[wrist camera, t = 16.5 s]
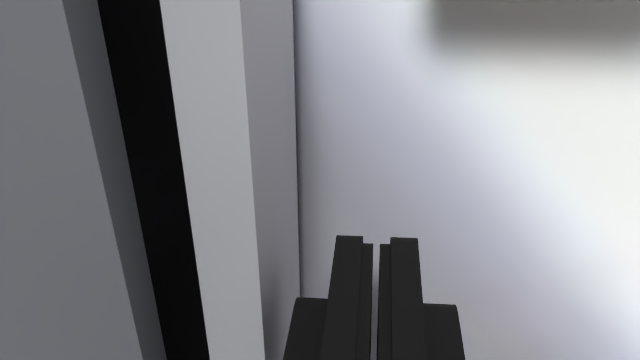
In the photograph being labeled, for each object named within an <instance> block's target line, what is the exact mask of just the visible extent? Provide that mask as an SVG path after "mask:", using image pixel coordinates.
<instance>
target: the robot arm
mask: <svg viewBox="0 0 640 360" xmlns="http://www.w3.org/2000/svg"><path fill="white" fill-rule="evenodd" d="M372 271H373V244H367V243H363V236H341V235H337V236H336V243H335V250H334V258H333V265H332V273H331V280H330V288H329V295H328V299H320V298H300V297H297V298H296V300H295V304H294V308H293V313H292V318H291V322H290V327H289V332H288V337H287V342H286V346H285V351H284V356H283V360H370V353H371V313H372ZM377 360H465V355H464V349H463V342H462V336H461V330H460V323H459V317H458V311H457V307H456V305H447V304H426V303H423V298H422V286H421V274H420V261H419V249H418V239H417V238H397V237H391V240H390V244H380V263H379V296H378V329H377Z"/></svg>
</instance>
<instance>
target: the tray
mask: <svg viewBox="0 0 640 360" xmlns="http://www.w3.org/2000/svg"><path fill="white" fill-rule="evenodd" d="M97 3H98V8H99V13H100V18H101V24H102V29H103V34H104V39H105V44H106V49H107V54H108V60H109V65H110V70H111V75H112V80H113V85H114V90H115V96H116V101H117V106H118V111H119V116H120V121H121V126H122V132H123V137H124V142H125V147H126V152H127V157H128V162H129V168H130V173H131V178H132V183H133V188H134V193H135V198H136V204H137V209H138V214H139V219H140V224H141V229H142V234H143V240H144V245H145V250H146V255H147V260H148V265H149V270H150V276H151V281H152V286H153V291H154V296H155V301H156V306H157V312H158V317H159V322H160V327H161V332H162V337H163V342H164V348H165V353H166V358H167V360H283V356H284V351H285V346H286V342H287V337H288V332H289V327H290V322H291V318H292V313H293V308H294V304H295V300H296V298H297V297H300V278H299V238H298V199H297V159H296V119H295V79H294V40H293V0H97Z"/></svg>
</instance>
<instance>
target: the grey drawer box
mask: <svg viewBox="0 0 640 360" xmlns="http://www.w3.org/2000/svg"><path fill="white" fill-rule="evenodd" d="M0 360H167V358H166V353H165V348H164V342H163V337H162V332H161V327H160V322H159V317H158V312H157V306H156V301H155V296H154V291H153V286H152V281H151V276H150V270H149V265H148V260H147V255H146V250H145V245H144V240H143V234H142V229H141V224H140V219H139V214H138V209H137V204H136V198H135V193H134V188H133V183H132V178H131V173H130V168H129V162H128V157H127V152H126V147H125V142H124V137H123V132H122V126H121V121H120V116H119V111H118V106H117V101H116V96H115V90H114V85H113V80H112V75H111V70H110V65H109V60H108V54H107V49H106V44H105V39H104V34H103V29H102V24H101V18H100V13H99V8H98V3H97V0H0Z"/></svg>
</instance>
